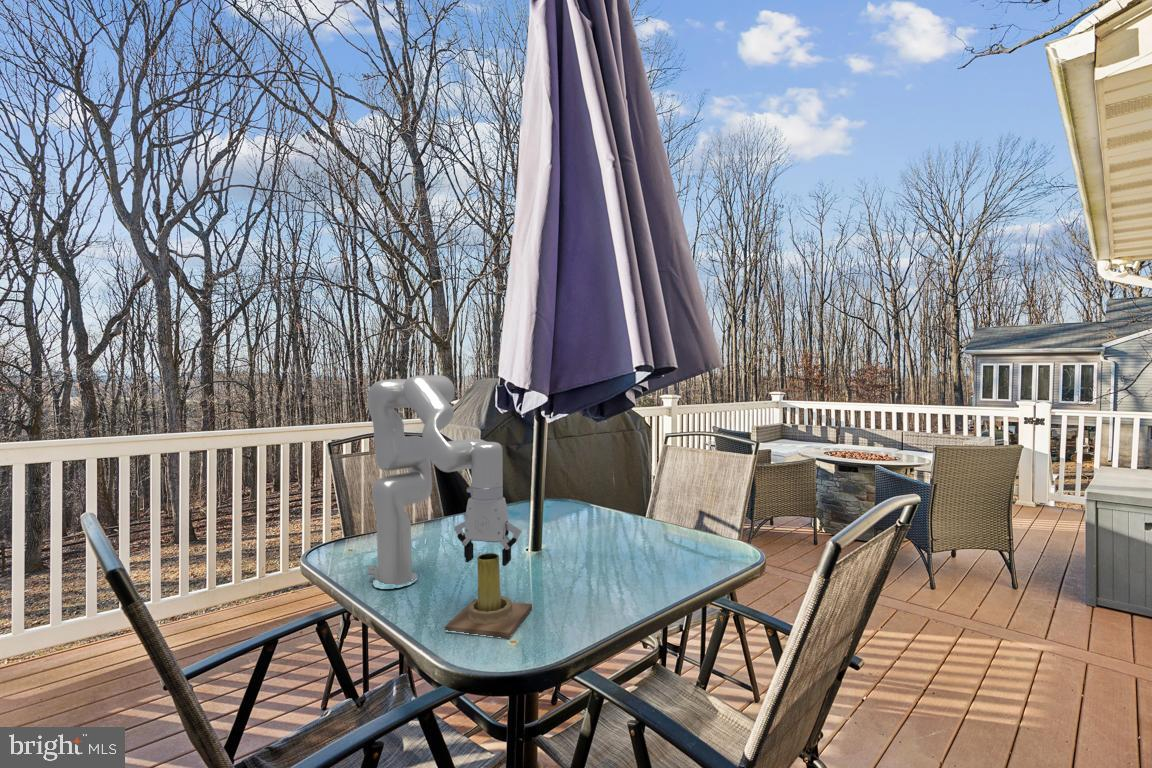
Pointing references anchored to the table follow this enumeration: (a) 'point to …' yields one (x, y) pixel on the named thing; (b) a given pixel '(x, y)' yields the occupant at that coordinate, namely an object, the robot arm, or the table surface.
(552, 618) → the table surface
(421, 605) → the table surface
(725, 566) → the table surface
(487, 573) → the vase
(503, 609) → the stand
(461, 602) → the table surface
